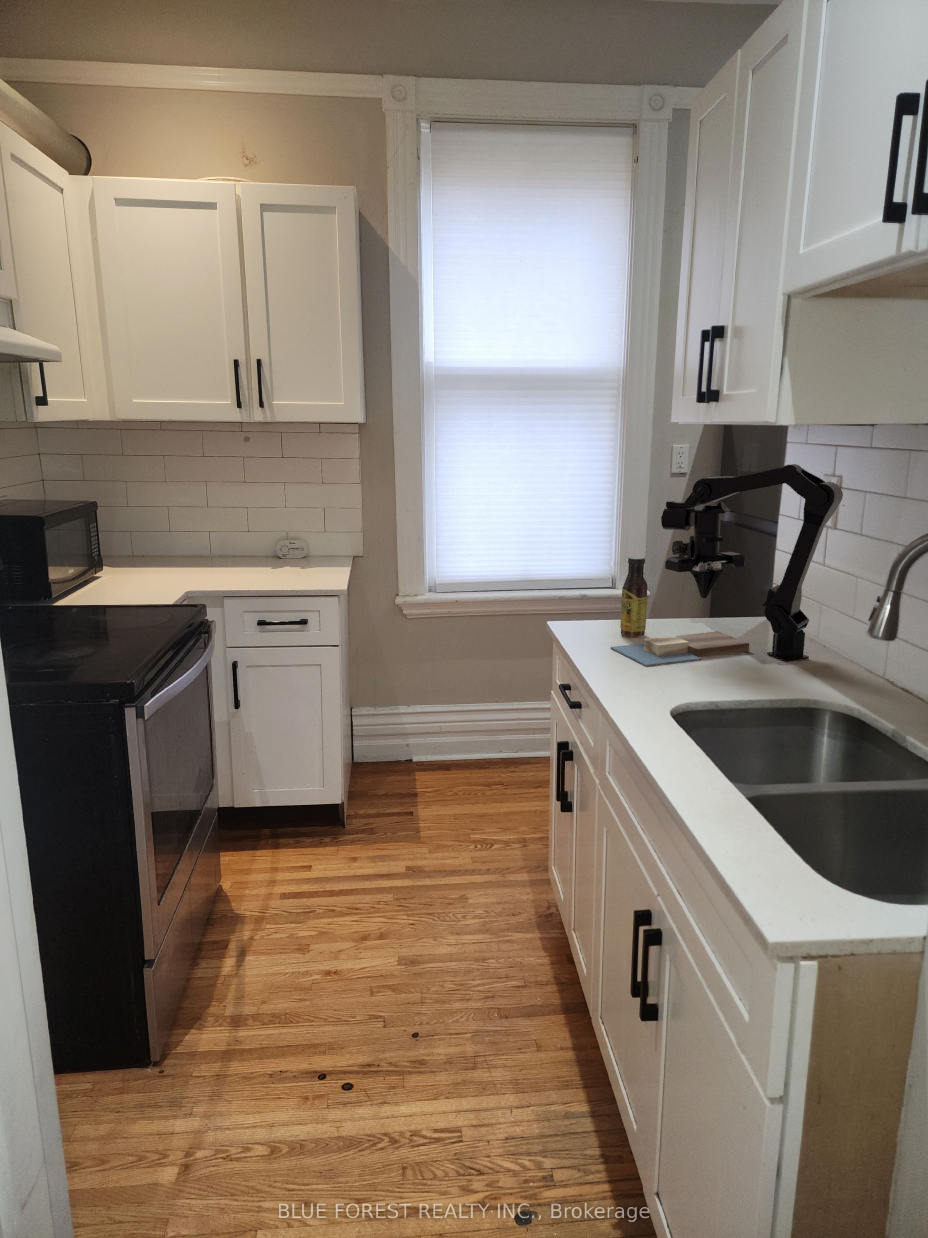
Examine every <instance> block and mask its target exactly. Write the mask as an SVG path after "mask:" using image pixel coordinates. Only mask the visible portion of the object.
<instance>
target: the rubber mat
mask: <svg viewBox="0 0 928 1238" xmlns="http://www.w3.org/2000/svg"><path fill="white" fill-rule="evenodd" d="M612 649H613V651H614V650H615V651H614V652H616V651H617V652H616V653H618V652H619V653H618V654H620V653H621V654H620V655H622V656H624V657H626V658H628V659H630V660H632V661H634V662H636V663H638V664H640V665H642V666H644V667H646V666H647V667H655V666H654V665H656V666H662V665H661V664H664V665H670V664H679V663H681V664H682V663H689V662H696V661H695V660H698V661H701V660H702V657H697V656H695V655H692V654H690V653H679V654H671V655H662V656H656V655H654V654H652V653H650V652H648V651H646V650H644V642H643V643H635V644H634V643H633V644H626V645H615V646H610V650H612ZM688 661H689V662H688Z"/></svg>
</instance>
